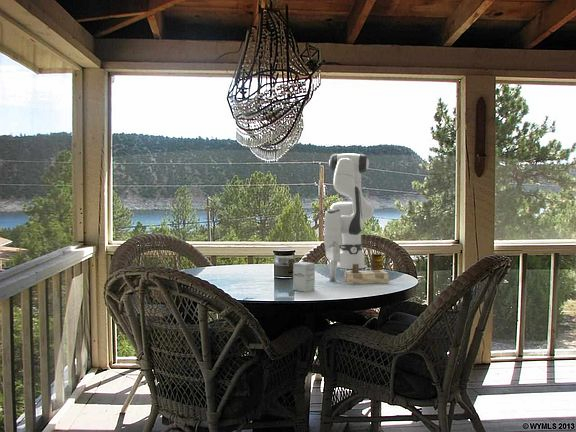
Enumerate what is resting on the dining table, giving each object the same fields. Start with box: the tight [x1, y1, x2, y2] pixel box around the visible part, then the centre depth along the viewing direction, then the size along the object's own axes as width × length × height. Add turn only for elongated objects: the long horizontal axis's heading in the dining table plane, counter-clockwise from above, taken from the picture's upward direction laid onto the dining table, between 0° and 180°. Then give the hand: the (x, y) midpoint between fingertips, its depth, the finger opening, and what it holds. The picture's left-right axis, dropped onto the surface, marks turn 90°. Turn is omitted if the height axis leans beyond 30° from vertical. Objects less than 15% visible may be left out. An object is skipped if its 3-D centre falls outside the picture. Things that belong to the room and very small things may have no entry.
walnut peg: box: [352, 264, 360, 273], centre depth 273 cm, size 3×3×9 cm
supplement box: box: [292, 261, 316, 293], centre depth 251 cm, size 7×7×13 cm
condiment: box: [370, 253, 383, 271], centre depth 290 cm, size 7×8×12 cm
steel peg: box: [329, 260, 337, 282], centre depth 276 cm, size 3×3×12 cm
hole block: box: [344, 269, 389, 285], centre depth 273 cm, size 9×20×5 cm, turn 96°
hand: (332, 268), depth 276 cm, fingers open, 7 cm apart
